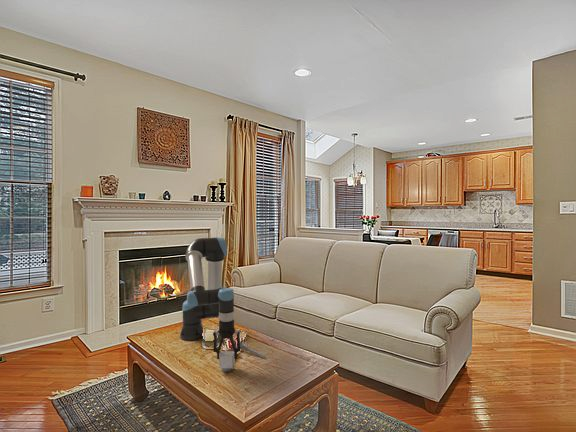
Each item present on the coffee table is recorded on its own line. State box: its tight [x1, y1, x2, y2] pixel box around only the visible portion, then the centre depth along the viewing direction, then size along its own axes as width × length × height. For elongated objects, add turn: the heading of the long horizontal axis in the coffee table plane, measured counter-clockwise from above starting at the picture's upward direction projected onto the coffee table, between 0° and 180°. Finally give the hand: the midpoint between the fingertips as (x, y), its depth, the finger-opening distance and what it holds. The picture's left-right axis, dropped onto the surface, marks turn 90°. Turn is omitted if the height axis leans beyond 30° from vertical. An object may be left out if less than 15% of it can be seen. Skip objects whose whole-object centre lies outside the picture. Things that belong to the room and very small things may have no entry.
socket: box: [219, 350, 234, 369], centre depth 172 cm, size 6×6×6 cm
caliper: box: [240, 340, 268, 360], centre depth 190 cm, size 20×1×6 cm, turn 58°
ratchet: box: [221, 349, 234, 374], centre depth 181 cm, size 22×6×6 cm, turn 2°
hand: (227, 364), depth 173 cm, fingers closed on socket, 6 cm apart
